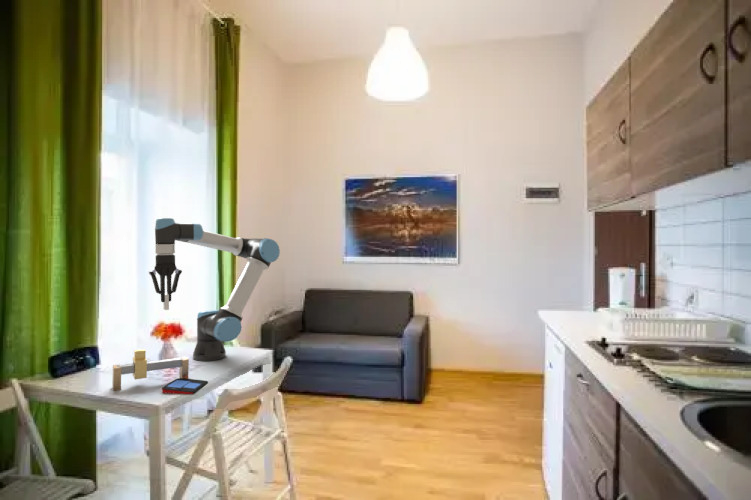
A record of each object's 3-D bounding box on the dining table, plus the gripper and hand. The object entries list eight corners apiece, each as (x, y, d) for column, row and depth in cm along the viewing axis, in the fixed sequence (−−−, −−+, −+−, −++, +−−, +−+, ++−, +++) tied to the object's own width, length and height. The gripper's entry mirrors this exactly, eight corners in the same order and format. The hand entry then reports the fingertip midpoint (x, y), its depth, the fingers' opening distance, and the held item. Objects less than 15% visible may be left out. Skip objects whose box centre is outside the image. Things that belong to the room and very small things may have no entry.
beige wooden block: (143, 373, 176) (144, 347, 176) (146, 377, 170) (147, 351, 170) (132, 374, 173) (133, 349, 173) (134, 379, 168) (135, 352, 168)
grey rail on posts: (185, 376, 184) (185, 356, 184) (188, 379, 180) (188, 358, 180) (112, 387, 169) (112, 364, 169) (113, 391, 165) (113, 367, 164)
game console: (193, 395, 163) (193, 389, 163) (159, 394, 163) (159, 388, 163) (208, 383, 177) (208, 377, 177) (177, 382, 178) (177, 377, 178)
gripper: (179, 253, 194) (179, 306, 195) (146, 254, 186) (147, 309, 186) (183, 254, 188) (184, 308, 189) (150, 255, 180) (151, 312, 181)
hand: (166, 309), depth 188 cm, fingers closed
